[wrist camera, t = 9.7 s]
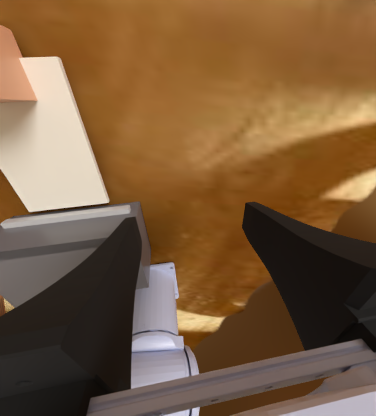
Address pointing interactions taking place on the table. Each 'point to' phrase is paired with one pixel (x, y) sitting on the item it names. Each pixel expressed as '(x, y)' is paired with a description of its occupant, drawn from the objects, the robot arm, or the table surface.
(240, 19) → the table surface
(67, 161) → the peach block on base
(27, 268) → the dispenser
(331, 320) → the robot arm
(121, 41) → the table surface
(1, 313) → the milk carton
